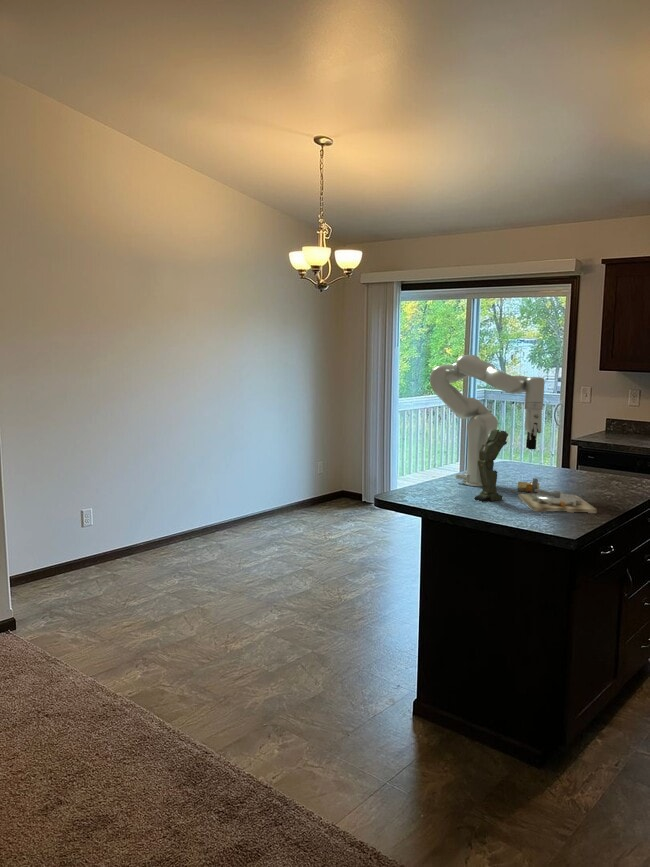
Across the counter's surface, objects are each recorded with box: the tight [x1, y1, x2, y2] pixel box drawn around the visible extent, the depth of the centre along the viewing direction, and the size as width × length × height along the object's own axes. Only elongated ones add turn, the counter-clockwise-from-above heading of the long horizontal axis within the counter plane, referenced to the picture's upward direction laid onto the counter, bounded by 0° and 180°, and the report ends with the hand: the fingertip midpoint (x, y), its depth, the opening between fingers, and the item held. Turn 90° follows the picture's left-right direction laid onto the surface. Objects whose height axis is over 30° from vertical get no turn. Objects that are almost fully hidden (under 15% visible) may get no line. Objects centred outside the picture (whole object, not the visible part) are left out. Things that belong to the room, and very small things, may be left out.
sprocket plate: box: [518, 493, 598, 514], centre depth 271 cm, size 24×24×2 cm
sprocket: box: [531, 477, 582, 506], centre depth 271 cm, size 19×21×6 cm
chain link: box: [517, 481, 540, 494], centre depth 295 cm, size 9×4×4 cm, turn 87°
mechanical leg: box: [473, 429, 509, 503], centre depth 277 cm, size 14×7×30 cm, turn 118°
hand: (530, 448), depth 293 cm, fingers open, 2 cm apart
